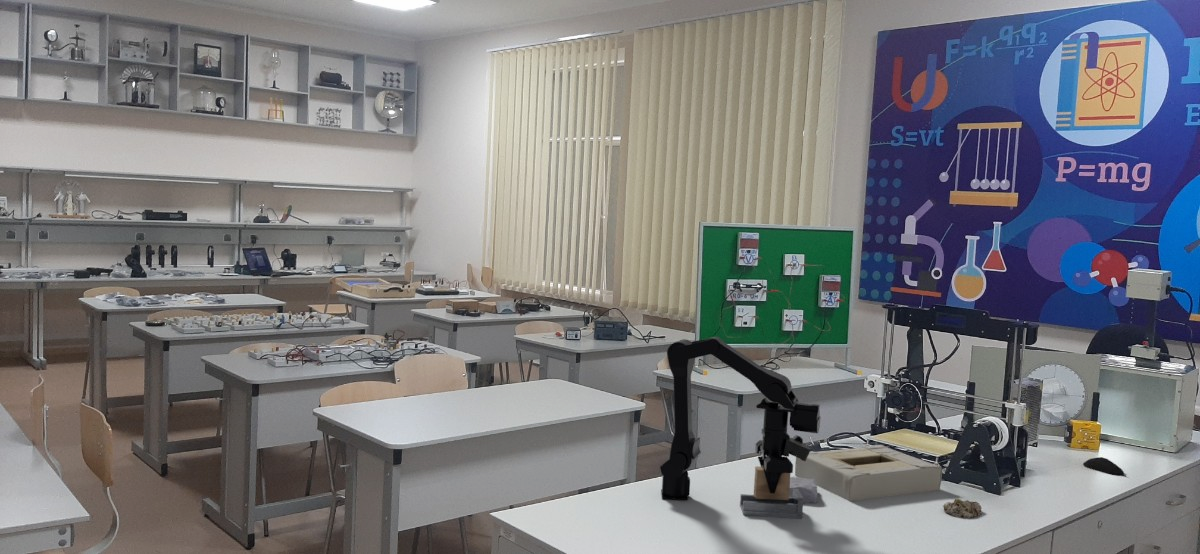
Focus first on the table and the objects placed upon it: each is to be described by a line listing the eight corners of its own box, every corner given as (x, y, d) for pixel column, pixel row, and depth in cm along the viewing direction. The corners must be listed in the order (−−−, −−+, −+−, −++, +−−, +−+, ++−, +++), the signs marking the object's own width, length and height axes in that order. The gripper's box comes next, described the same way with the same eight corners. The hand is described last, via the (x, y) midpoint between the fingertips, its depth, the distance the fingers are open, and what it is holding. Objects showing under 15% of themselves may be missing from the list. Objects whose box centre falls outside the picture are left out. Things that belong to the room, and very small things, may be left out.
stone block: (780, 508, 222) (820, 504, 221) (777, 489, 222) (817, 485, 221) (777, 495, 234) (815, 491, 232) (774, 477, 234) (812, 473, 232)
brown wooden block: (755, 498, 211) (757, 469, 211) (753, 494, 214) (755, 466, 214) (788, 500, 211) (790, 471, 211) (786, 496, 214) (788, 468, 214)
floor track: (743, 515, 210) (744, 494, 209) (739, 505, 217) (740, 485, 216) (802, 518, 209) (803, 497, 209) (796, 508, 216) (797, 488, 216)
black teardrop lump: (1124, 480, 256) (1125, 467, 256) (1078, 466, 270) (1079, 453, 269) (1138, 479, 259) (1139, 465, 258) (1092, 464, 272) (1093, 452, 272)
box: (850, 504, 223) (941, 491, 237) (851, 474, 223) (943, 463, 237) (792, 479, 244) (880, 468, 258) (794, 452, 244) (881, 442, 258)
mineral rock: (960, 512, 213) (938, 493, 220) (954, 527, 214) (933, 508, 221) (994, 510, 217) (972, 492, 224) (988, 525, 218) (966, 506, 225)
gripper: (817, 439, 202) (812, 505, 203) (801, 420, 221) (797, 481, 222) (768, 436, 202) (764, 502, 203) (756, 418, 221) (753, 478, 222)
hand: (771, 490), depth 213 cm, fingers closed on brown wooden block, 3 cm apart
